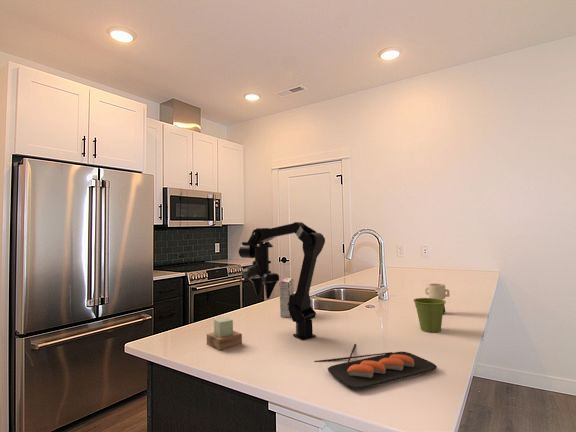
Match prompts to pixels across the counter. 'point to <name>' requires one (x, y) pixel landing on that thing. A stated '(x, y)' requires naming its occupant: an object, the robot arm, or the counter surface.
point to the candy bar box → (285, 295)
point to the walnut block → (224, 340)
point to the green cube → (223, 327)
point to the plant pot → (430, 313)
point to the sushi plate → (378, 368)
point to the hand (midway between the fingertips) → (262, 296)
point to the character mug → (437, 292)
